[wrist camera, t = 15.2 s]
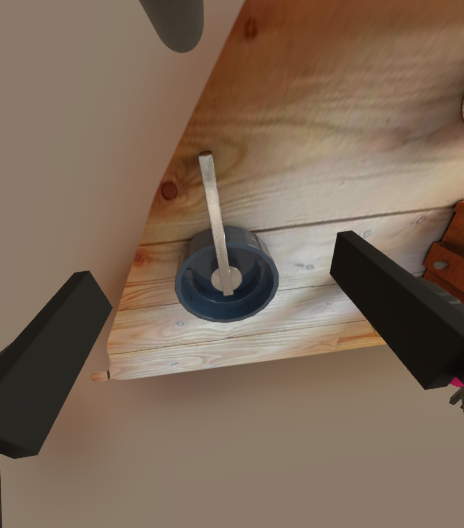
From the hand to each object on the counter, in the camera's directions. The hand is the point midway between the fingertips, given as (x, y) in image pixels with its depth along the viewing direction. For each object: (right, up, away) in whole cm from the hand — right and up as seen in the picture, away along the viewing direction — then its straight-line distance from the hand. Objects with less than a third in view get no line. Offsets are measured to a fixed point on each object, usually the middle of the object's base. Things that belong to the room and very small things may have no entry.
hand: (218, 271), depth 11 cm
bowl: (0, 0, +25) cm, 25 cm away
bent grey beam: (-1, +6, +20) cm, 21 cm away
